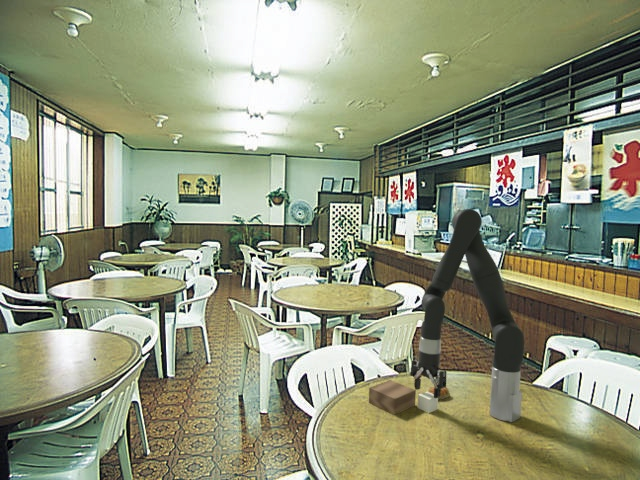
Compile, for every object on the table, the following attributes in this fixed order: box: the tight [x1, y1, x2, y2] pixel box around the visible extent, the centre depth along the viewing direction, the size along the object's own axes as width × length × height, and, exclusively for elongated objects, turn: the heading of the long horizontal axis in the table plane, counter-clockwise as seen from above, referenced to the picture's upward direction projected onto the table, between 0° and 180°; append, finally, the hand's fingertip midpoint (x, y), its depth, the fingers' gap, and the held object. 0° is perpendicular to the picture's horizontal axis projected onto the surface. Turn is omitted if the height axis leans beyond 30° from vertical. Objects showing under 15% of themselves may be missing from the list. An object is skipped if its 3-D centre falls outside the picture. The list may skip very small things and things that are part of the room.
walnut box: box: [368, 379, 417, 415], centre depth 159 cm, size 12×12×6 cm
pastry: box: [427, 386, 451, 401], centre depth 167 cm, size 9×7×4 cm
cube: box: [417, 391, 439, 414], centre depth 156 cm, size 5×5×5 cm
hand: (426, 393), depth 157 cm, fingers open, 8 cm apart
